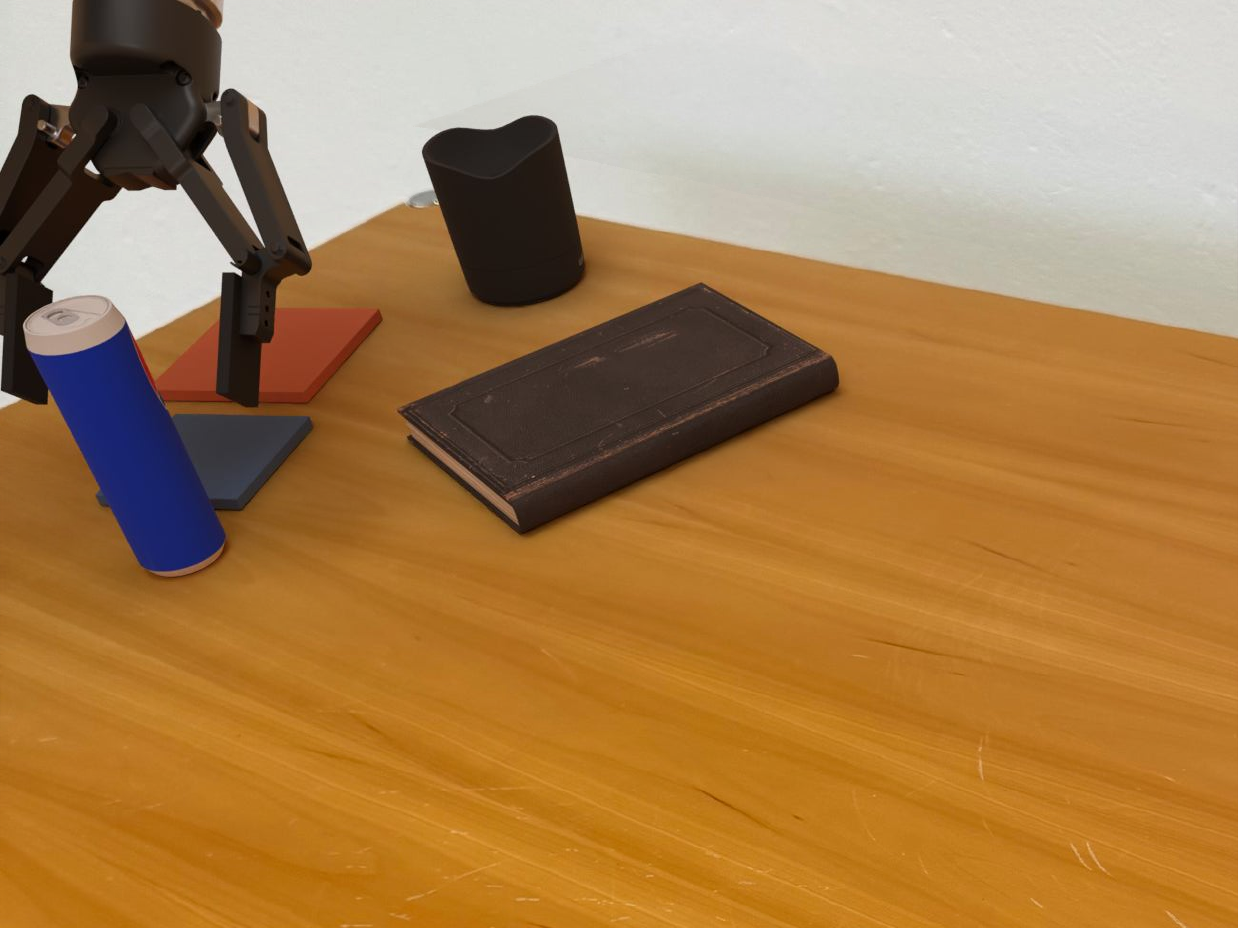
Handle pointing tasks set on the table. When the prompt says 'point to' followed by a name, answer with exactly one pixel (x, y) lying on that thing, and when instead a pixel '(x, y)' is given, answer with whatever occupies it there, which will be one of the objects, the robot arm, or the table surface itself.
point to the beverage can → (125, 433)
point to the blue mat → (236, 452)
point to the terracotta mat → (277, 355)
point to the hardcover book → (615, 403)
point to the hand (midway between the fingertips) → (129, 400)
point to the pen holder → (508, 209)
